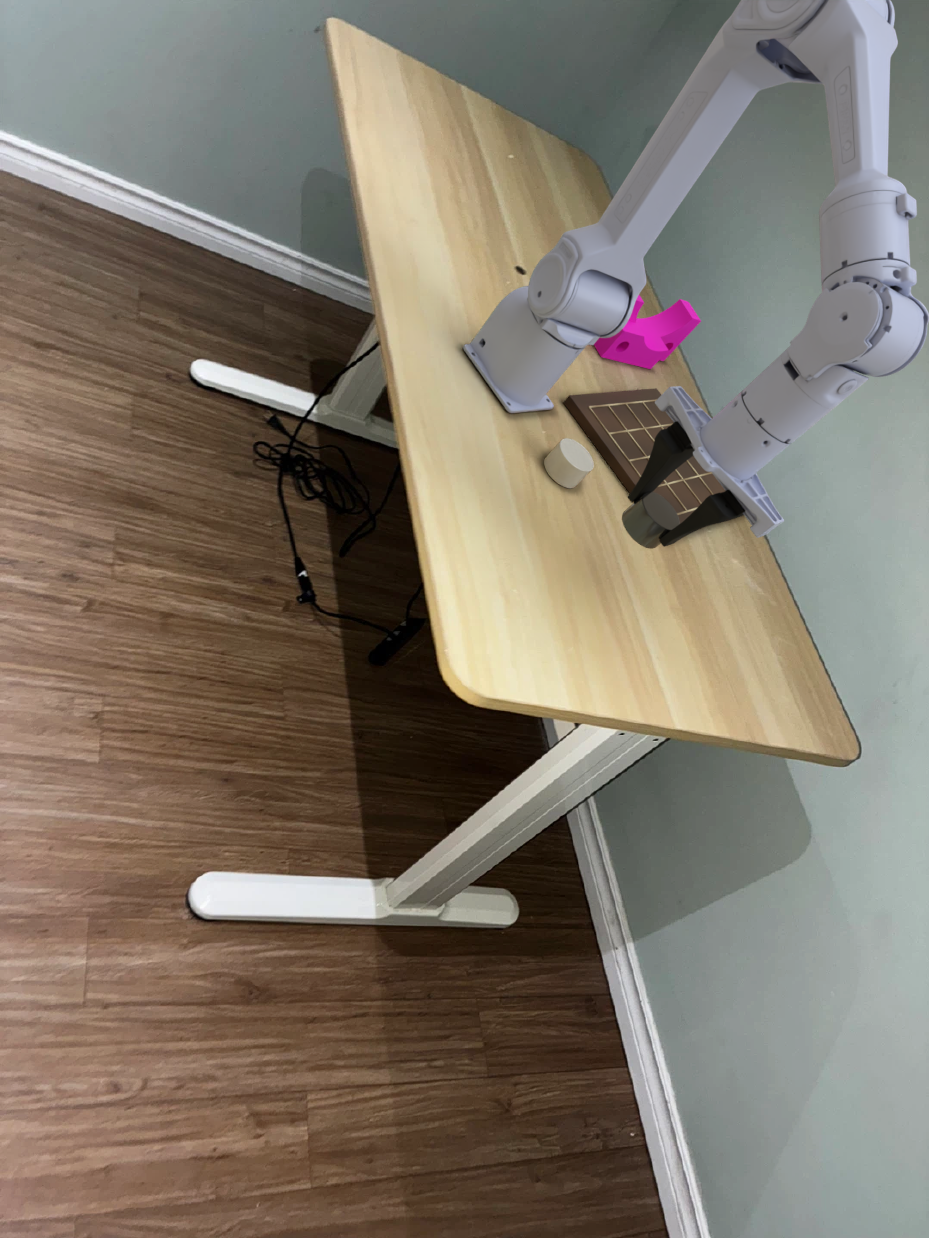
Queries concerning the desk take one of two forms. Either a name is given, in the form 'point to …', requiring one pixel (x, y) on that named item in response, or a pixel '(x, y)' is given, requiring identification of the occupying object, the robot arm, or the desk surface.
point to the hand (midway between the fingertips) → (650, 519)
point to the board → (639, 444)
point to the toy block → (649, 335)
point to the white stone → (568, 463)
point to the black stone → (649, 519)
